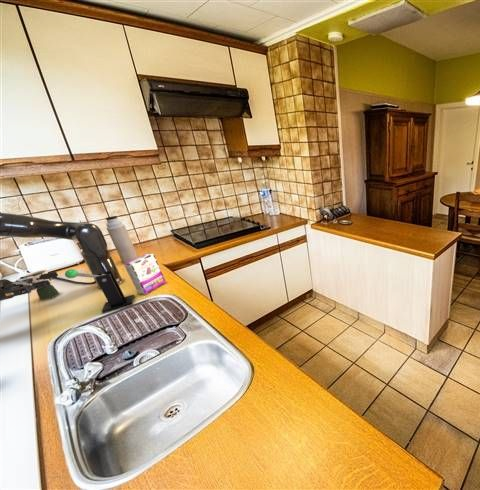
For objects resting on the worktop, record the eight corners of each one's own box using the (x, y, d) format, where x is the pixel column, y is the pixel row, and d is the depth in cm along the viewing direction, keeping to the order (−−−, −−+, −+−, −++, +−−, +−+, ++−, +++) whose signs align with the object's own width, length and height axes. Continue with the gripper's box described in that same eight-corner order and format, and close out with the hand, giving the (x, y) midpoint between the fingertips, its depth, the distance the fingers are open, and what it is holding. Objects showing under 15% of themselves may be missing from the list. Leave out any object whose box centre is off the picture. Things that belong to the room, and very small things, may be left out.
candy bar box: (158, 281, 136) (146, 253, 129) (166, 282, 135) (154, 253, 128) (137, 294, 126) (122, 263, 119) (145, 294, 125) (131, 264, 118)
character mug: (65, 295, 128) (50, 272, 123) (43, 303, 123) (28, 279, 117) (56, 291, 133) (42, 268, 128) (35, 298, 127) (20, 275, 122)
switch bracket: (102, 313, 113) (85, 281, 107) (106, 304, 119) (90, 274, 113) (132, 304, 118) (117, 273, 112) (134, 296, 124) (120, 266, 118)
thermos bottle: (133, 257, 168) (114, 214, 157) (142, 258, 165) (123, 215, 154) (119, 262, 161) (98, 218, 150) (128, 264, 158) (107, 219, 147)
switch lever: (62, 279, 104) (64, 270, 104) (65, 275, 107) (67, 267, 107) (107, 283, 113) (110, 275, 112) (109, 280, 115) (111, 272, 115)
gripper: (-29, 292, 89) (40, 276, 97) (-7, 276, 100) (54, 263, 108) (-15, 310, 92) (51, 294, 100) (5, 292, 103) (64, 279, 111)
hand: (53, 278), depth 104 cm, fingers open, 8 cm apart
